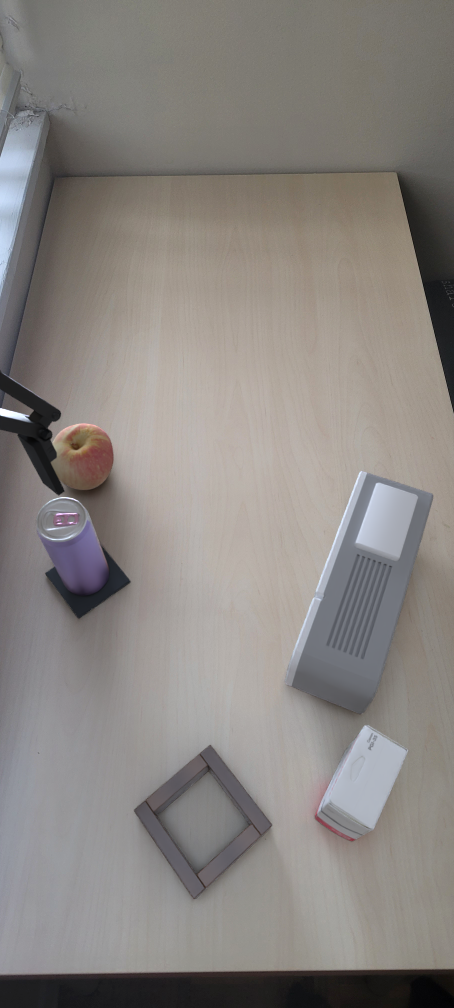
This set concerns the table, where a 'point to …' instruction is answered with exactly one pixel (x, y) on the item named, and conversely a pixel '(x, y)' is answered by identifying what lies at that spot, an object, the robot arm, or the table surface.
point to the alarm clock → (360, 594)
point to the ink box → (361, 784)
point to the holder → (179, 785)
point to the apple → (83, 456)
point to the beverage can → (72, 545)
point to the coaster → (89, 602)
